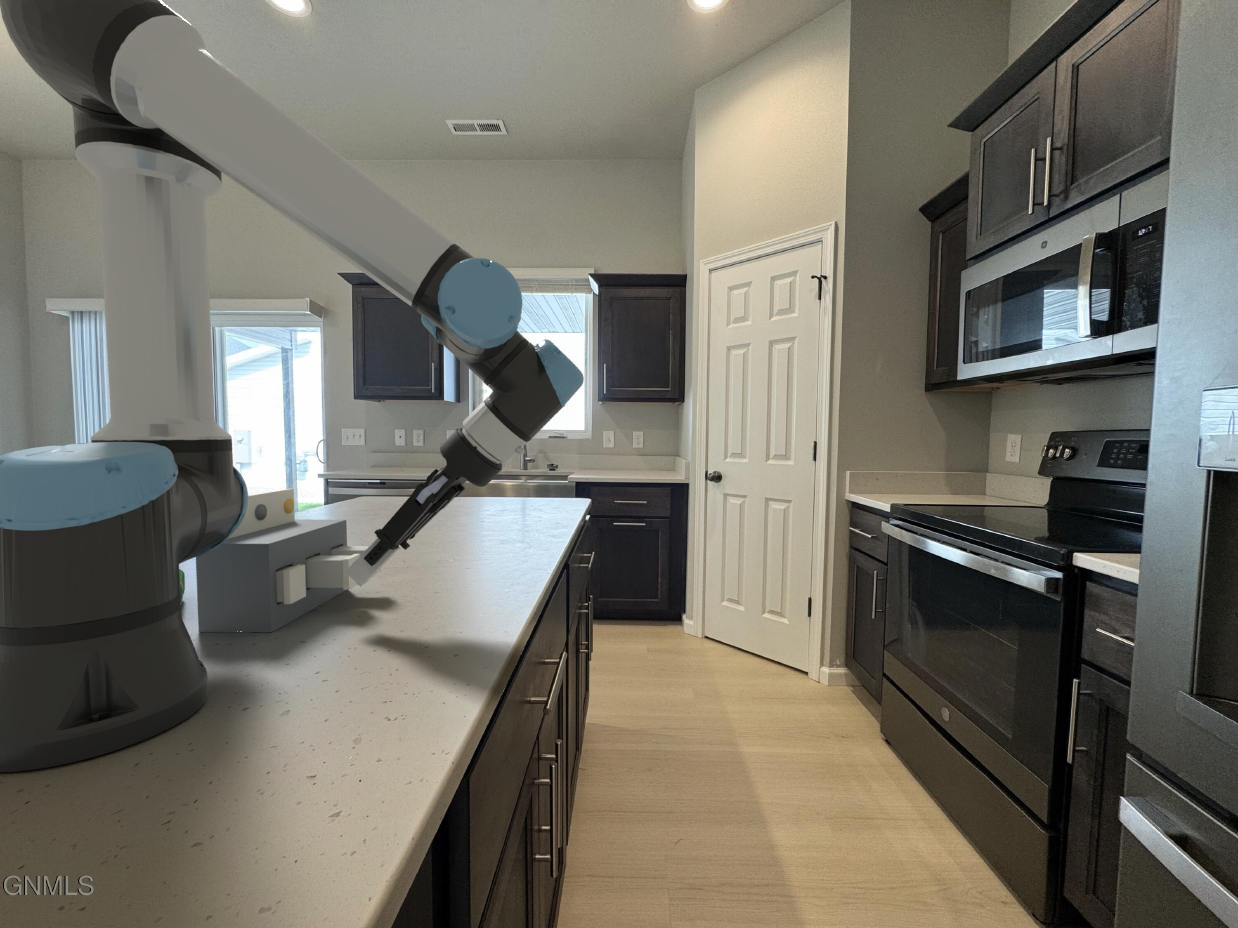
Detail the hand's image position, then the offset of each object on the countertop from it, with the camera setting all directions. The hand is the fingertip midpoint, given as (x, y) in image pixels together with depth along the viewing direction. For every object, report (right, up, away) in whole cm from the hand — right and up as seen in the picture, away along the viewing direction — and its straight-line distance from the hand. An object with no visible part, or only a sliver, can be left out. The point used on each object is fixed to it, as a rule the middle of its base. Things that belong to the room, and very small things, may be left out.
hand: (355, 577), depth 71 cm
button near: (-11, -3, 0) cm, 11 cm away
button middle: (-7, -2, +6) cm, 10 cm away
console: (-13, -6, +7) cm, 16 cm away
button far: (-7, -2, +13) cm, 15 cm away
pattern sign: (-16, +5, +6) cm, 18 cm away
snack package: (-30, -6, +5) cm, 31 cm away
